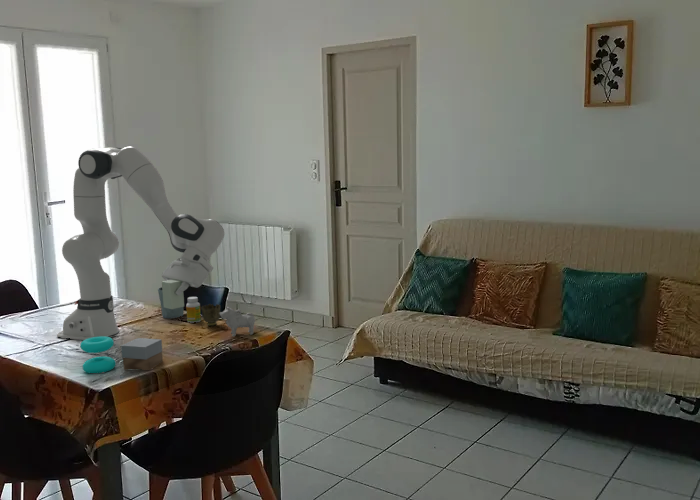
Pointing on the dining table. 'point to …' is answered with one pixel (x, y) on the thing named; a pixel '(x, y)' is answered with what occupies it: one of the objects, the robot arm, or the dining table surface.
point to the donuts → (98, 346)
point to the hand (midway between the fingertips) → (171, 293)
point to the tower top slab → (141, 348)
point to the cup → (211, 314)
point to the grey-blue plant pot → (169, 312)
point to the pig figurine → (238, 320)
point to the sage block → (172, 294)
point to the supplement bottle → (193, 310)
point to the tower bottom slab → (143, 362)
